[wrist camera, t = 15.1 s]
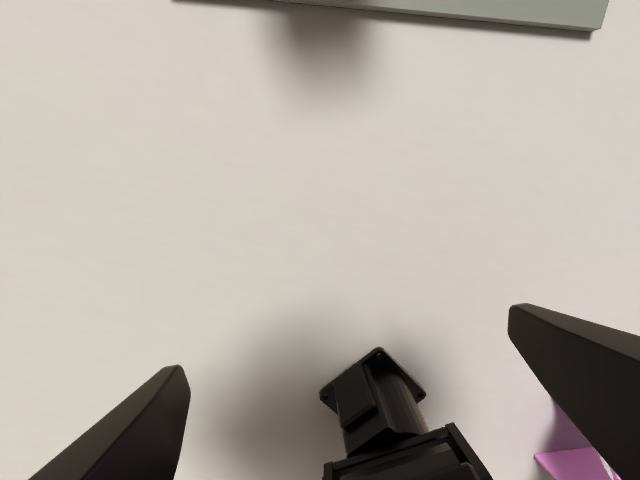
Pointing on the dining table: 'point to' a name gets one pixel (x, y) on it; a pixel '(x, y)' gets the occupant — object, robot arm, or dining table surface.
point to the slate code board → (491, 10)
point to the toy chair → (575, 464)
